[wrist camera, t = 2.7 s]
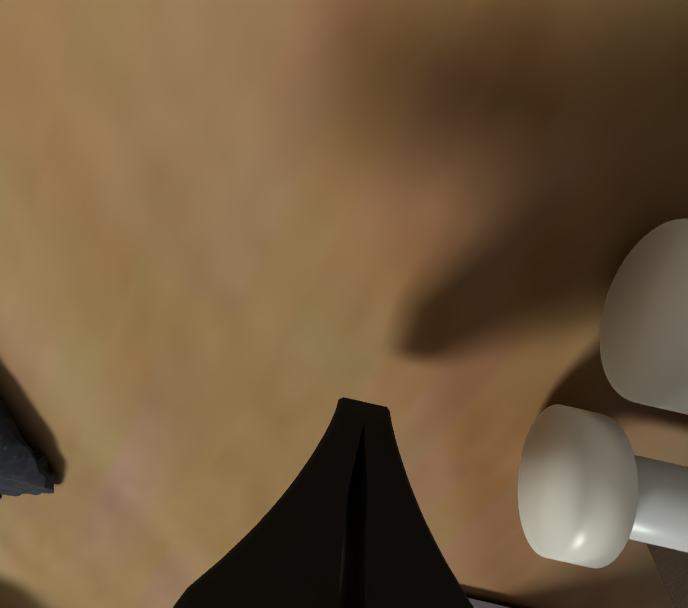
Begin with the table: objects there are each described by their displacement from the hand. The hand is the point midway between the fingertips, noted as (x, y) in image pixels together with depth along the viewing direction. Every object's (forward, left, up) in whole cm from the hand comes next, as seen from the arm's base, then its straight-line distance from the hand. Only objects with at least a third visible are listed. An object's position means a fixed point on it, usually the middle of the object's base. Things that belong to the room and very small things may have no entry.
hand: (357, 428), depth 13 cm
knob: (0, -10, -2) cm, 10 cm away
